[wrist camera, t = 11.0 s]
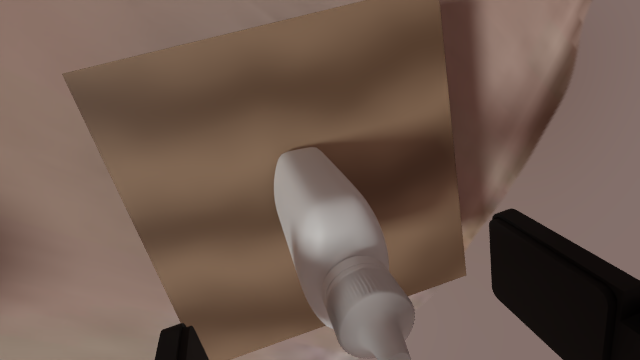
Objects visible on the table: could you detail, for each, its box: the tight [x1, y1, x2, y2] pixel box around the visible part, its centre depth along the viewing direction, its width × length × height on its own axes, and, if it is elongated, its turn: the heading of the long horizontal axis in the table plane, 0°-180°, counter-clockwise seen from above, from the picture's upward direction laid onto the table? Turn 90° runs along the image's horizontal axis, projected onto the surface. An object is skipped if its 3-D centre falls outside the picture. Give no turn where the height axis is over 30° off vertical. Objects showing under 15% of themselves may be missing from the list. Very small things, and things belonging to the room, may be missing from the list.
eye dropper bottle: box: [274, 147, 415, 360], centre depth 15 cm, size 4×6×12 cm
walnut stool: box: [62, 0, 466, 360], centre depth 24 cm, size 18×18×7 cm
